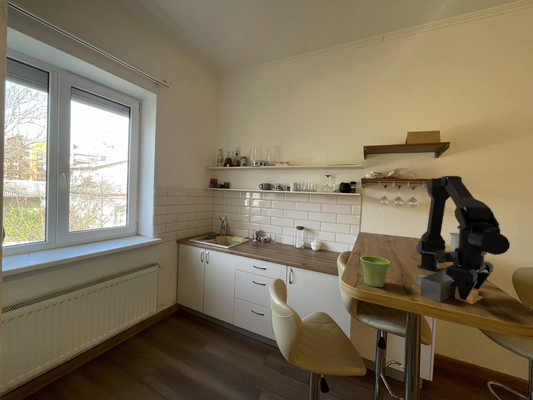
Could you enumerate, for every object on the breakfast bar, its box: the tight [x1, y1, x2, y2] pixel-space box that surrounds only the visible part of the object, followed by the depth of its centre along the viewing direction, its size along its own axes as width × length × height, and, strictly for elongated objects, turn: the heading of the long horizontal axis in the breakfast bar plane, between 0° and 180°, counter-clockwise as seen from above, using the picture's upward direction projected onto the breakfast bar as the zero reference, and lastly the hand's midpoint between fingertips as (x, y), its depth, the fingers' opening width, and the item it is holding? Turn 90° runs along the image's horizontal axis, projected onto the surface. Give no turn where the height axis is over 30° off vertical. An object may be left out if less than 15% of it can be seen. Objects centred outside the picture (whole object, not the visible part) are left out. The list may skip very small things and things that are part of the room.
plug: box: [416, 274, 484, 305], centre depth 68 cm, size 16×4×4 cm, turn 30°
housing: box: [420, 269, 457, 303], centre depth 69 cm, size 20×5×6 cm, turn 120°
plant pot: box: [360, 255, 391, 288], centre depth 73 cm, size 9×9×9 cm
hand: (468, 296), depth 64 cm, fingers open, 8 cm apart
